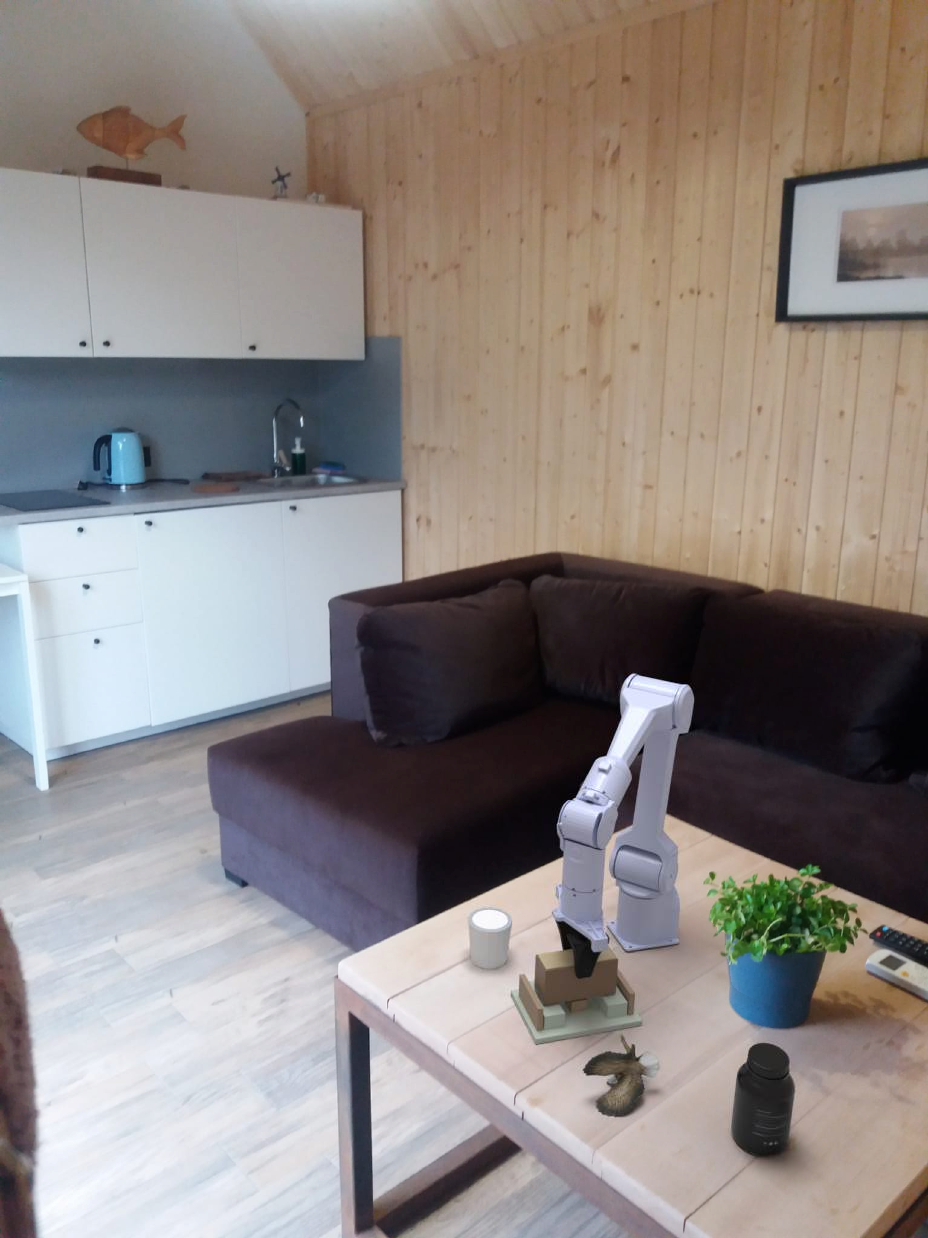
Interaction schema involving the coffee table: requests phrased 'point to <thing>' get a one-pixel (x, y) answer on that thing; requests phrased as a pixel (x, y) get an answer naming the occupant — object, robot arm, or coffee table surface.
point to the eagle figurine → (622, 1077)
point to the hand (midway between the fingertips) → (577, 967)
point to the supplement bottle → (763, 1101)
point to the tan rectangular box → (573, 977)
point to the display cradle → (575, 1012)
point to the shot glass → (489, 937)
